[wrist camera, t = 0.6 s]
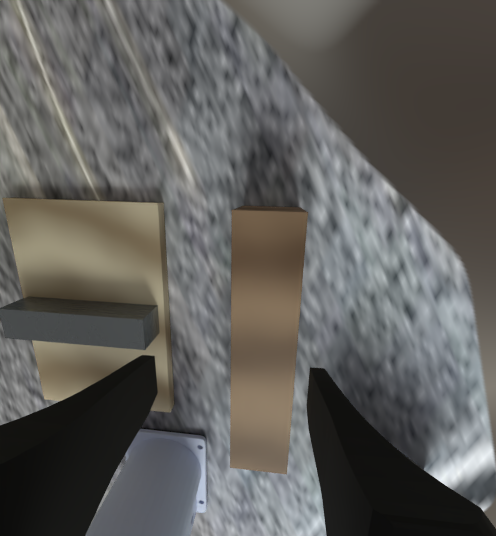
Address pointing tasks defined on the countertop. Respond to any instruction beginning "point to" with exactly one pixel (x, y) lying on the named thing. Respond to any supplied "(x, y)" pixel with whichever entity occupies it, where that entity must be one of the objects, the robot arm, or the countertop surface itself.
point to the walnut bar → (264, 332)
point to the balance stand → (90, 290)
